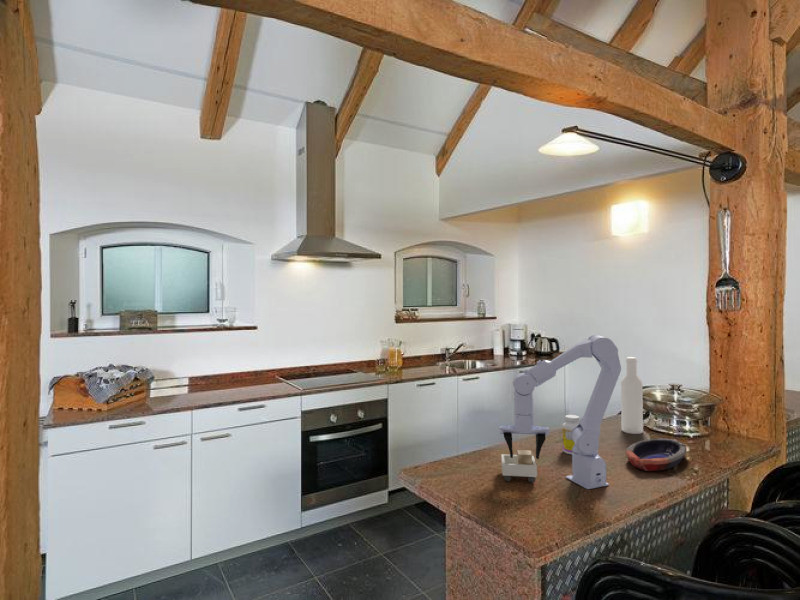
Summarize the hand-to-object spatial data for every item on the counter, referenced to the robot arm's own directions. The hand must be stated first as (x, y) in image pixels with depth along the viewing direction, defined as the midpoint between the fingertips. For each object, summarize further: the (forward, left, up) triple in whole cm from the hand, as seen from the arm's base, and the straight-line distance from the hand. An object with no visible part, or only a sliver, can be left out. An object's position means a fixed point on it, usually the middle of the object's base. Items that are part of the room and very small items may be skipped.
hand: (524, 457), depth 145 cm
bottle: (+24, -68, -7) cm, 73 cm away
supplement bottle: (+13, -29, -7) cm, 33 cm away
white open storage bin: (+1, +2, -6) cm, 7 cm away
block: (0, 0, -3) cm, 3 cm away
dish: (-4, -49, -7) cm, 49 cm away
